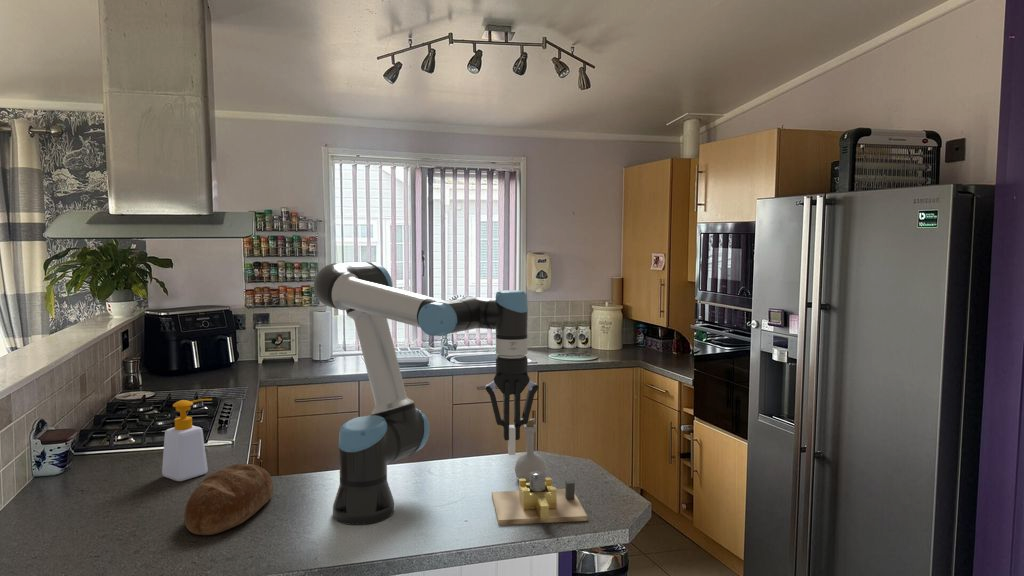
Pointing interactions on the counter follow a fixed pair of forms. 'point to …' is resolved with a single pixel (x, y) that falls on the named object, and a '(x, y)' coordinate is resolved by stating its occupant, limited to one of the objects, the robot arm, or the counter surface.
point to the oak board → (513, 513)
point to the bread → (227, 498)
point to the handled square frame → (538, 498)
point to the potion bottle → (529, 455)
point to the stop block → (569, 490)
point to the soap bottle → (184, 447)
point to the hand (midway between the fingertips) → (511, 452)
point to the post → (537, 481)
